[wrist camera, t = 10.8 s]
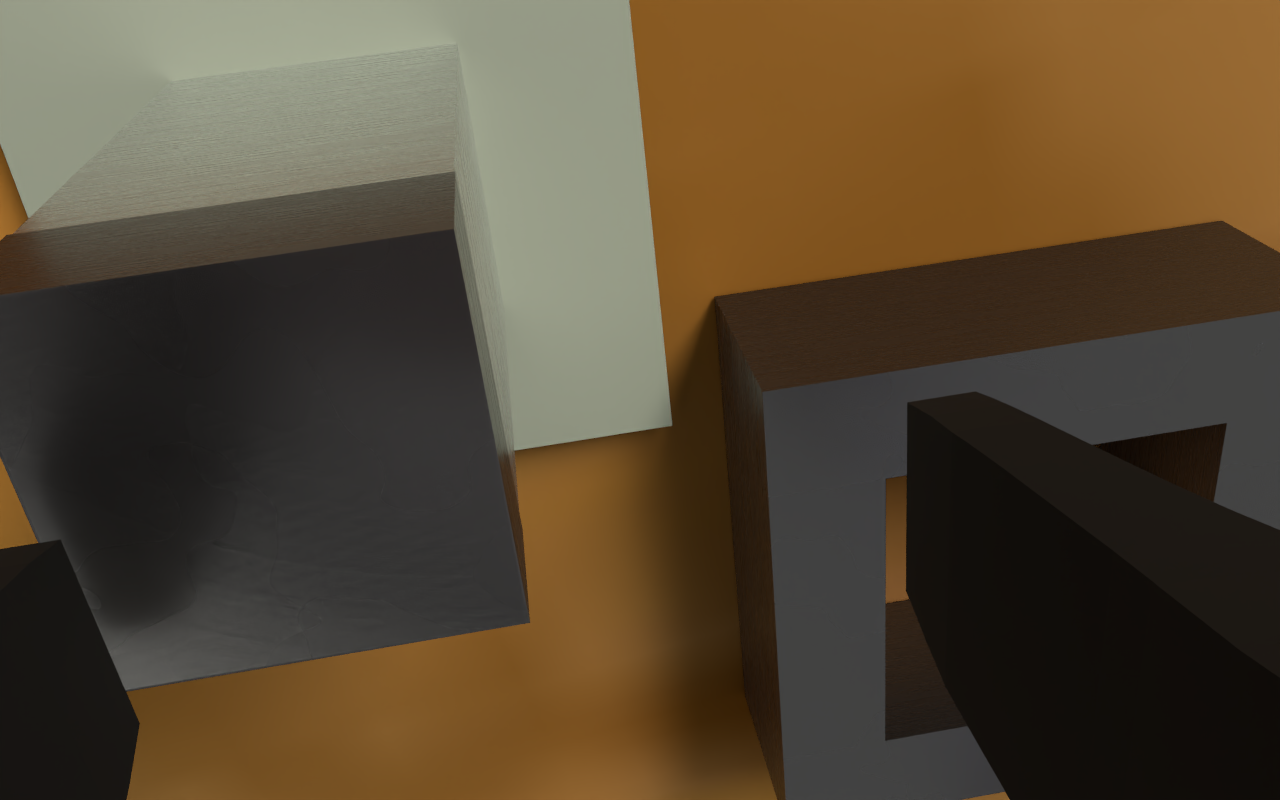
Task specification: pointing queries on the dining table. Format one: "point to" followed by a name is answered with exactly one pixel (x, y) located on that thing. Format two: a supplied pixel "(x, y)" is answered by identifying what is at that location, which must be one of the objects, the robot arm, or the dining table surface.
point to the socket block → (877, 449)
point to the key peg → (270, 372)
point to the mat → (504, 138)
